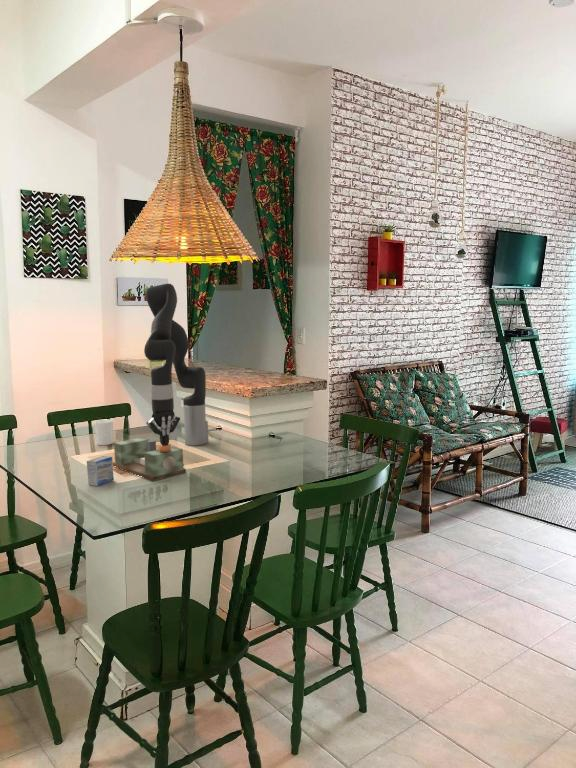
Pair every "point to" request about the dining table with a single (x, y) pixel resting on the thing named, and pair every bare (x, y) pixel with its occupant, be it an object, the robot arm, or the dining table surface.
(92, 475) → the medicine box
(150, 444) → the carriage
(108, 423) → the white cup
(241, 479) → the dining table surface
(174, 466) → the rail stand
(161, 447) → the button
